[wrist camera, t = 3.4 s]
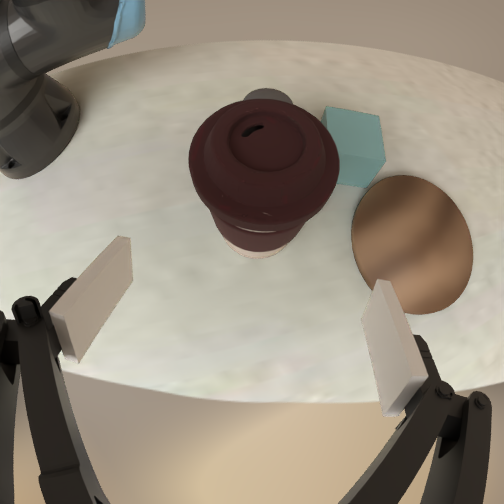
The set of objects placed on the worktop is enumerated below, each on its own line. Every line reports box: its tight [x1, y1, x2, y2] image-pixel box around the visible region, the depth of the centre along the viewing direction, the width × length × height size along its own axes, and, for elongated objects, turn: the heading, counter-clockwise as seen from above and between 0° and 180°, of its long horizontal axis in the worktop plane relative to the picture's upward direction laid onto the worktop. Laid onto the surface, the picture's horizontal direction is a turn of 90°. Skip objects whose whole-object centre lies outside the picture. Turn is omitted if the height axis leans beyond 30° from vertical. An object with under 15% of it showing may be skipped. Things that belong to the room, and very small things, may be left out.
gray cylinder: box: [243, 88, 293, 104], centre depth 32 cm, size 5×5×7 cm
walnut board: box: [351, 175, 473, 315], centre depth 32 cm, size 16×16×1 cm
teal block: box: [321, 106, 386, 188], centre depth 33 cm, size 6×6×6 cm
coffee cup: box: [189, 99, 340, 258], centre depth 26 cm, size 10×10×15 cm
